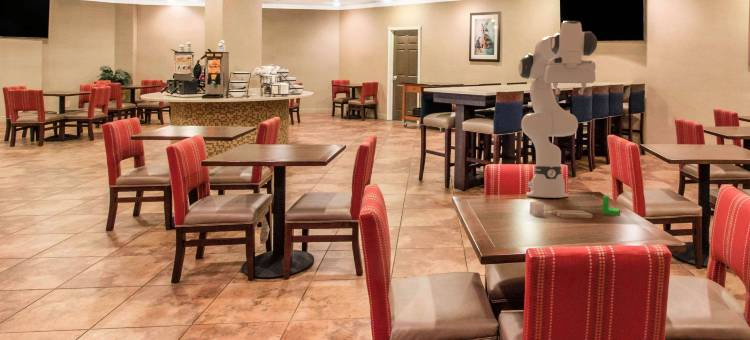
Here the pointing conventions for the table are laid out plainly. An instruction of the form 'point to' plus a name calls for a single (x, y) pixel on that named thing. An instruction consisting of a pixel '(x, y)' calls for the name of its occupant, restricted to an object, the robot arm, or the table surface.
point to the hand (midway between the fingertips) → (569, 94)
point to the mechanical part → (606, 207)
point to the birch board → (572, 214)
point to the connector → (537, 209)
